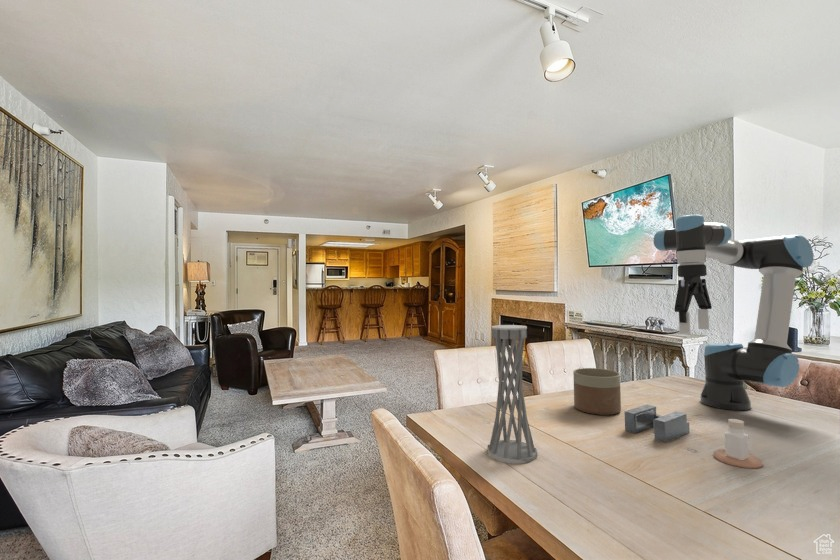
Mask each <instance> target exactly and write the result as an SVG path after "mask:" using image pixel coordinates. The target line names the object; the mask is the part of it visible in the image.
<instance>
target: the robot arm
mask: <svg viewBox="0 0 840 560" xmlns="http://www.w3.org/2000/svg"><path fill="white" fill-rule="evenodd" d="M731 238H732V230H731V228H730V227H729V225H727V224H725V223H723V222H722V223H720V222H717V221H716V222H705V219H704V216H703V215H702V214H688V215H687V214H686V215H682V216H678V217H677V218H676V219H675V227H674V228H665V229H662V230H659V231H657V232H656V233H655V234H654V236H653V245H654V247H655V249H656V250H658V251H660V252H661V251H662V252H663V251H664V252H665V251H675V252H676V255H675V259H676V260H677V261H676V262H677V264H678V266H677V267H676V268H677V276H678V278H683V279H679V280H678V281H677V282H678V283H677V292H676V297H675V303H674V312H675V313H678V329H679V334H686V335H690V334H691V319H690V318H691V316H690V315H691V314H690V312H689V309H690V305H691V302H692V299H693V297H694V299H695V302H696V305H697V306H698V307H697V308H698V309H697V323H698V326H697V327H698V330H710V319H709V318H710V317H709V316H710V315H709V310H712V307H713V306H712V302H711V300H710V296H709V295H710V294H709V291H708V287H707V280H706V278H701V277H705V276H707V273H708V272H707V265H706V264H705V263H706V262H707V258H708V259H713V260H716V261H718V262H720V263H721V264H723V265H728V266H733V267H737V268H742V269H747V270H748V269H750V270H758V272H759V273H760V274H761V275H762V276H763V278H762V284H761V290H760V291H761V292H760V298H759V304H758V309H757V310H758V312H757V317H756V326H755V332H754V339H752V340H750V341H749V342H748V343H747V348H744V346H743V344H742V343H738V342H737V343H735V342H734V343H733V342H732V343H731V342H729V343H725V342H724V343H711V344H706V345H705V346H704V354H703V356H704V357H703V358H704V375H705V376H704V378H705V379H704V381H705V382H704V385H703V388H702V391H701V393H700V403H701V404H703V405H706V406H709V407H713V408H715V409H716V408H717V409H723V410H729V411H748V410H750V409H752V402H751V399H750V397H749V395H748V393H747V390H746V388H745V382H750V383H755V384H759V385H766V386H769V387H778V388H785V387H789V386H790V385H792V383H794V382H795V380H796V378H797V377H798V375H799V371H800V364H799V362H800V361H799V358H798V357H797V356H796V355H795V354H794V353H793V349H792V348H791V347H790V346H789V345H788V337H789V331H790V321H791V315H792V308H793V301H794V292H795V285H796V279H797V278H798V277H799V276H802V275H803V272H804V268H809V267H810V266H812V264H813V263H814V251H813V248H812V245H811V243H810V242H809V240H808V238H807V237H805V236H803V235H801V234H789V235H788V234H784V235H780V236H779V235H778V236H769V237H760V238H752V239H743V240H736V239H731Z"/></svg>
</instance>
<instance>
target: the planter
mask: <svg viewBox="0 0 840 560" xmlns="http://www.w3.org/2000/svg"><path fill="white" fill-rule="evenodd" d="M572 371H573V374H572V375H573V405H574V408H575V409H577V410H579V411H580V412H583V413H587V414H590V415H597V416H611V415H616V414H618V413H620V412H621V411H622V401H621V400H622V399H621V396H622V395H621V392H622V391H621V374H620V372H617V371H616V370H613V369H607V368H606V369H605V368H597V367H595V368H594V367H581V368H577V369H574V370H572Z"/></svg>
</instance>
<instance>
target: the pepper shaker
mask: <svg viewBox="0 0 840 560" xmlns="http://www.w3.org/2000/svg"><path fill="white" fill-rule="evenodd" d="M727 421H728V422H727V423H728V425H727V426H728V430H727V431H725V432H724V450H725V454H726V456H728V457H731V458H734V459H737V460H740V461H743V460H745V459H748V458H749V454H750V443H749V442H750V441H749V440H750V438H749V435H748V434H746V433H745V431H744V430H745V421H743V420H741V419H737V418H728V420H727Z"/></svg>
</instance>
